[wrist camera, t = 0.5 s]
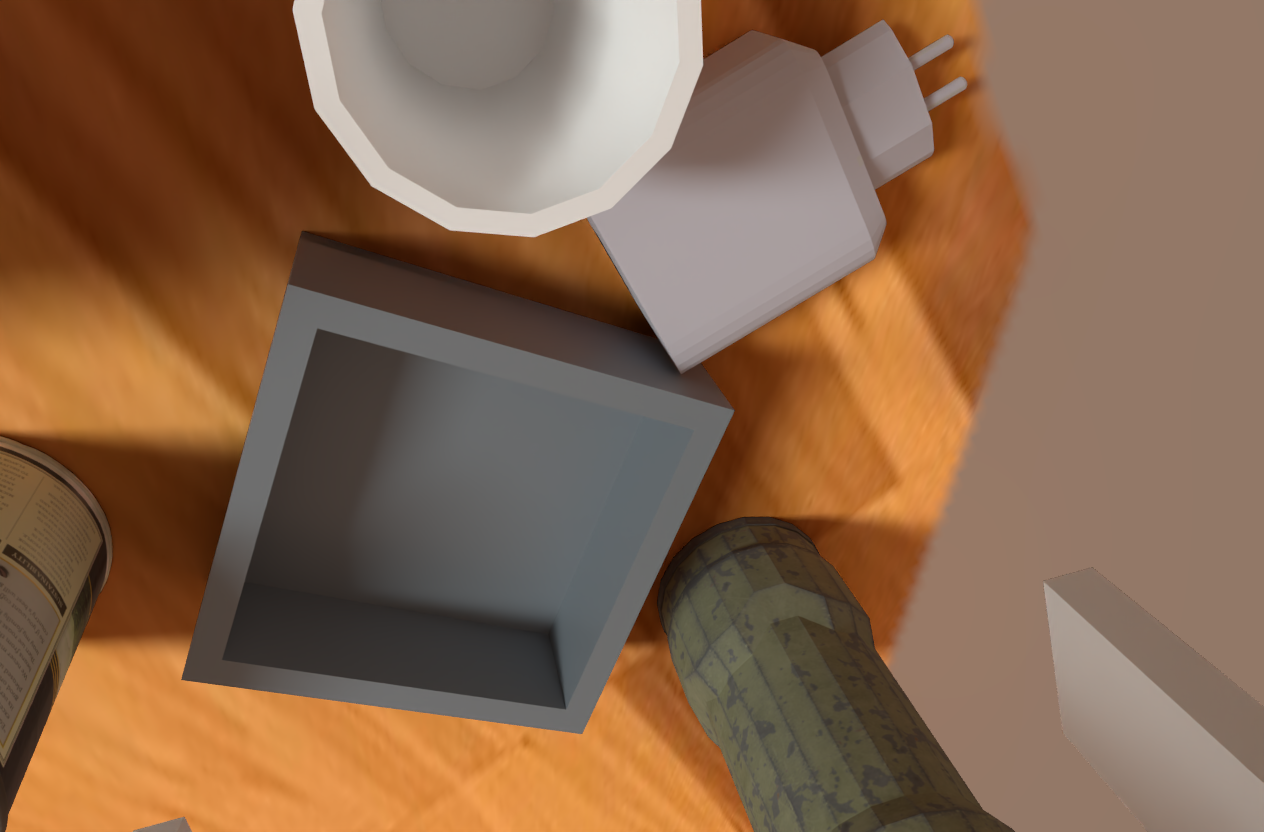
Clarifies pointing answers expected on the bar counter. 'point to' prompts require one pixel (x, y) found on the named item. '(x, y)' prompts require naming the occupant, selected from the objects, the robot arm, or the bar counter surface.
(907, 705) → the thermos
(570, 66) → the foam cup
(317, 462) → the tray
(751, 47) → the charger
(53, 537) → the coffee can
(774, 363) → the bar counter surface
